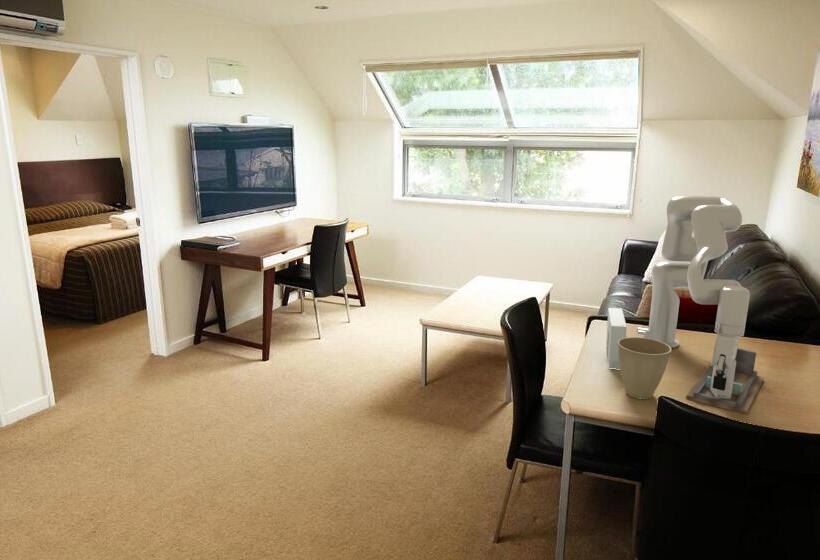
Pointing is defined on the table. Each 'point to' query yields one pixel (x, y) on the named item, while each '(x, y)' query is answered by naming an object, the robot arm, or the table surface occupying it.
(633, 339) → the plant pot
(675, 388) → the table surface
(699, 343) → the table surface
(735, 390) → the pusher
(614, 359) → the skincare box
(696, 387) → the tray
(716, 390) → the skincare box
